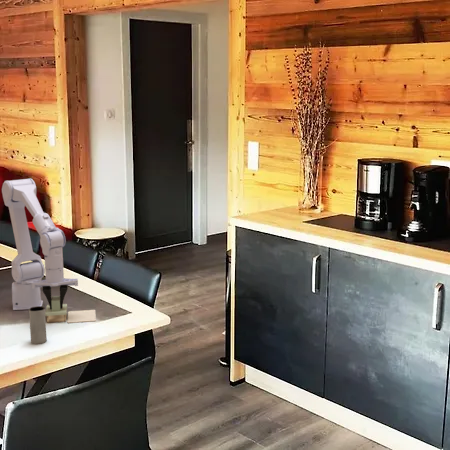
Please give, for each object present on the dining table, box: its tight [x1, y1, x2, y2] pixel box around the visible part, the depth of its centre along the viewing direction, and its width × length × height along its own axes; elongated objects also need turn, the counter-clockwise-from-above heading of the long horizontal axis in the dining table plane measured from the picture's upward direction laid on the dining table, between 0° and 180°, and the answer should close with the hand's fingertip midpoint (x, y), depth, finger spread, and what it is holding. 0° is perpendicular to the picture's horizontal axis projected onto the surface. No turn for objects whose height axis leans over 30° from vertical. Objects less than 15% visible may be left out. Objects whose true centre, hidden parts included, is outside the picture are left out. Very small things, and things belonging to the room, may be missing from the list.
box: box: [46, 315, 67, 324], centre depth 221 cm, size 6×8×2 cm
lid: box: [45, 295, 68, 317], centre depth 220 cm, size 7×9×5 cm
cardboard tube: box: [28, 305, 48, 345], centre depth 200 cm, size 4×4×10 cm
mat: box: [66, 309, 97, 324], centre depth 222 cm, size 9×11×1 cm
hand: (56, 307), depth 220 cm, fingers closed on lid, 3 cm apart
